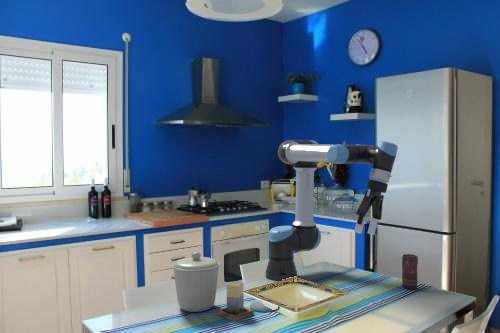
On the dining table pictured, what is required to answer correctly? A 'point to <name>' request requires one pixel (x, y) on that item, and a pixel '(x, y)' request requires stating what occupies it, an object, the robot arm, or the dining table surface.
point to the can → (409, 271)
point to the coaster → (259, 307)
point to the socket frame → (245, 314)
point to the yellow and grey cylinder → (235, 298)
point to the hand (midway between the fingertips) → (364, 233)
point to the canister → (196, 282)
